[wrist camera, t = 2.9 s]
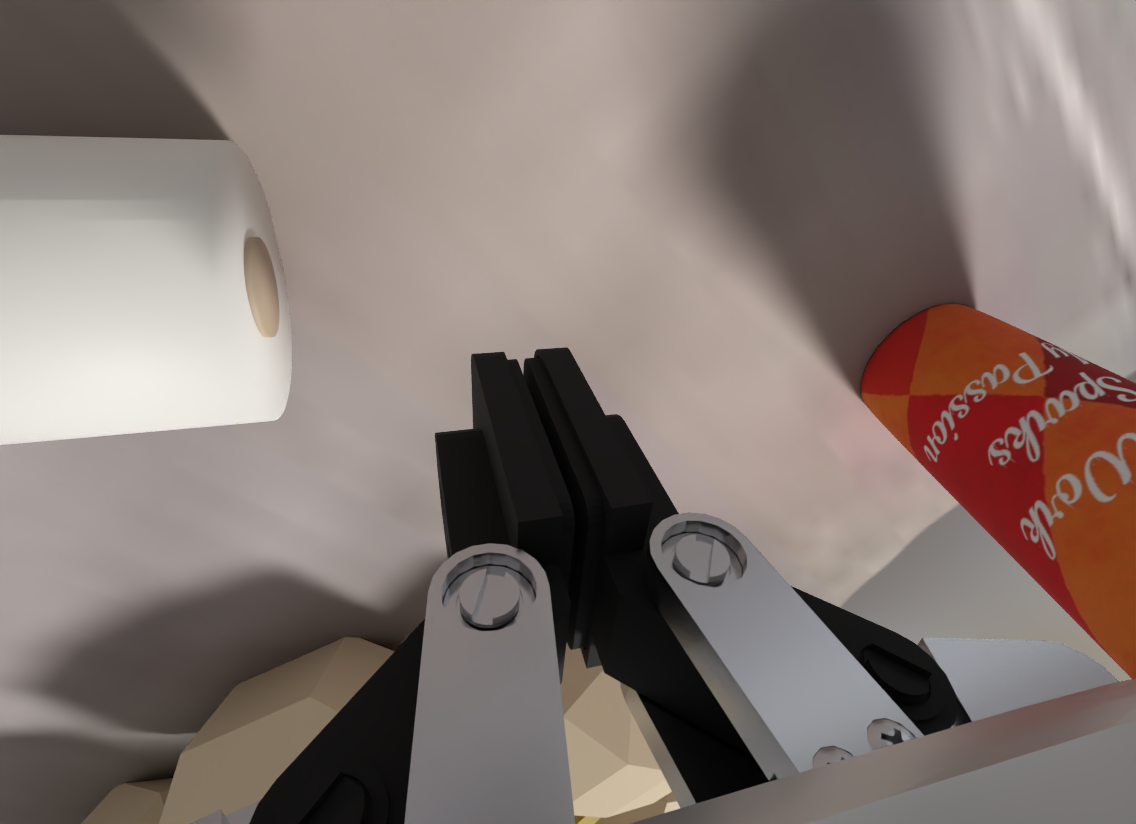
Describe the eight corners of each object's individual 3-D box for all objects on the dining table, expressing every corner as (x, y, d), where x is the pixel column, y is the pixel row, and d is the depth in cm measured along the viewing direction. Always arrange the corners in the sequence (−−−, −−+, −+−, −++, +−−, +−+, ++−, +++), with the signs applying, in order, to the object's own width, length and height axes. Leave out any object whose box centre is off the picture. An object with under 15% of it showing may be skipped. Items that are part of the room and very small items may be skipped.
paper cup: (997, 237, 21) (1623, 504, 11) (1007, 365, 26) (1445, 638, 15) (814, 358, 23) (1206, 705, 12) (855, 459, 27) (1162, 771, 17)
